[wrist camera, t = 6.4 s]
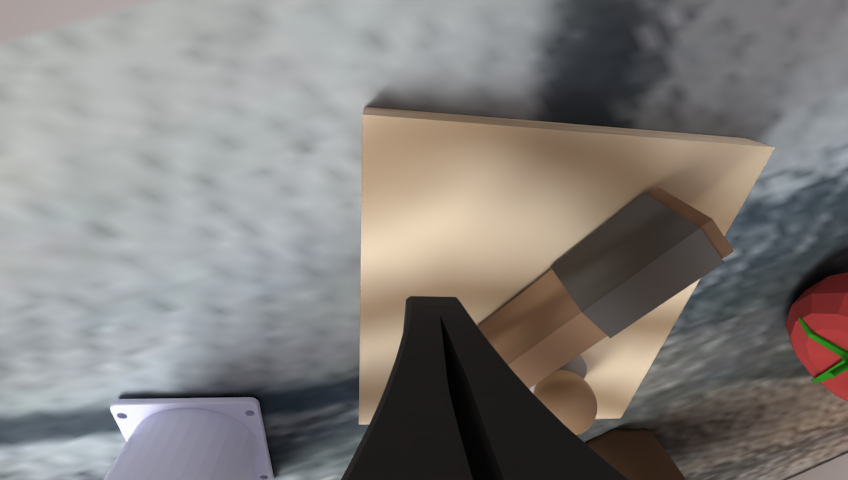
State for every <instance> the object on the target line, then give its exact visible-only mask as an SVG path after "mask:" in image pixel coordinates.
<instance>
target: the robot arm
mask: <svg viewBox="0 0 848 480" xmlns="http://www.w3.org/2000/svg"><path fill="white" fill-rule="evenodd" d="M110 410H111V412H112V414H113V416H114V418H115V420H116V422H117V424H118V426H119V428H120V430H121V432H122V434H123V436H124V438H125V440H126V442H127V443H126V444H125V446H124V447H123V449H122V451H121V452H120V454H119V455H118V457H117V459H116V460H115V462H114V463H113V465H112V467H111V468H110V470H109V471H108V473H107V475H106V476H105V478H104V479H103V480H274V476H273V471H272V466H271V461H270V456H269V450H268V445H267V440H266V435H265V430H264V425H263V419H262V414H261V409H260V404H259V401H258V400H257V399H256V398H253V397H226V398H158V399H118V400H115V401H114V402H113V404H112V405H111V406H110ZM341 480H628V479H627V478H626V477H625V476H623V475H622V474H621V473H620V472H618V471H617V470H616V469H615V468H614V467H613V466H611V465H610V464H609V463H608V462H607V461H605V460H604V459H603V458H602V457H601V456H600V455H598V454H597V453H596V452H595V451H594V450H592V449H591V448H590V447H589V446H588V445H587V444H585V443H584V442H583V441H582V440H581V439H580V438H578V437H577V436H576V435H575V434H574V433H573V432H572V431H571V430H570V429H569V428H567V427H566V426H565V425H564V424H563V423H562V422H561V421H560V420H559V419H558V418H557V417H556V416H555V415H554V414H553V413H552V412H551V411H550V410H549V409H548V408H547V407H546V406H545V405H544V404H543V403H542V402H541V401H540V400H539V399H538V398H537V397H536V396H535V395H534V394H533V393H532V392H531V391H530V389H529V388H528V387H527V386H526V385H525V384H524V383H523V382H522V381H521V379H520V378H519V377H518V376H517V375H516V374H515V373H514V372H513V370H512V369H511V368H510V367H509V366H508V364H507V363H506V362H505V361H504V360H503V358H502V357H501V356H500V355H499V353H498V352H497V351H496V350H495V348H494V347H493V346H492V345H491V343H490V342H489V341H488V340H487V338H486V337H485V336H484V334H483V333H482V332H481V330H480V329H479V328H478V326H477V325H476V323H475V322H474V321H473V319H472V318H471V316H470V315H469V314H468V312H467V311H466V309H465V308H464V306H463V305H462V303H461V302H460V301H459V299H458V298H457V297H435V296H410V297H409V298H407V299H406V304H405V315H404V326H403V335H402V339H401V342H400V346H399V349H398V353H397V356H396V359H395V362H394V365H393V368H392V371H391V373H390V376H389V379H388V382H387V384H386V387H385V390H384V392H383V395H382V397H381V399H380V402H379V404H378V406H377V409H376V411H375V413H374V415H373V418H372V420H371V422H370V424H369V426H368V428H367V430H366V432H365V434H364V436H363V438H362V440H361V442H360V444H359V446H358V448H357V450H356V452H355V454H354V456H353V458H352V460H351V462H350V464H349V466H348V468H347V470H346V471H345V473H344V475H343V477H342V479H341Z"/></svg>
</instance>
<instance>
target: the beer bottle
mask: <svg viewBox="0 0 848 480" xmlns="http://www.w3.org/2000/svg"><path fill="white" fill-rule="evenodd" d="M585 444H587V445H588V446H589V447H590V448H591V449H592V450H594V451H595V452H596V453H597V454H598V455H600V456H601V457H602V458H603V459H604V460H605V461H607V462H608V463H609V464H610V465H611V466H613V467H614V468H615V469H616V470H617V471H618V472H620V473H621V474H622V475H623V476H625V477H626V478H627V479H628V480H686V479H685V477H684V476H683V474H682V473H681V471H680V470H679V469H678V467H677V466H676V465H675V463H674V462H673V461H672V459H671V458H670V456H669V455H668V454H667V452H666V451H665V450H664V448H663V447H662V446H661V444H660V443H659V441H658V440H657V439H656V437H655V436H654V435H653V433H651V432H650V431H649V430H647V429H614V430H612V431H609V432H607V433H605V434H603V435H601V436H599V437H597V438H595V439H592V440H590V441H588V442H586V443H585Z"/></svg>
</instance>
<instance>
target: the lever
mask: <svg viewBox="0 0 848 480" xmlns="http://www.w3.org/2000/svg"><path fill="white" fill-rule="evenodd" d="M731 252H733V249H732V248H731V246H730V245H729V243H728V241H727V240H726V238H725V237H724V235H723V234H722V232H721V231H720V229H719V228H718V226H717V225H716V223H715V222H714V220H713V219H712V218H710V217H709V216H707V215H705V214H703V213H702V212H700V211H698V210H697V209H695V208H693V207H691V206H690V205H688V204H686V203H685V202H683V201H681V200H679V199H678V198H676V197H674V196H673V195H671V194H669V193H667V192H666V191H664V190H662V189H661V188H659V187H657V188H655V189H654V190H653V191H651V192H650V193H649V194H646V193H643V194H642V195H641V196H639V197H638V198H637V199H636V200H634V201H633V202H632V203H631V204H629V205H628V206H627V207H625V208H624V209H623V210H622V211H620V212H619V213H618V214H617V215H615V216H614V217H613V218H611V219H610V220H609V221H608V222H606V223H605V224H604V225H603V226H601V227H600V228H599V229H597V230H596V231H595V232H594V233H592V234H591V235H590V236H589V237H587V238H586V239H585V240H583V241H582V242H581V243H580V244H578V245H577V246H576V247H575V248H573V249H572V250H571V251H569V252H568V253H567V254H566V255H564V256H563V257H562V258H561V259H559V260H558V261H557V262H555V263H554V264H553V265H552V266H550V267H551V268H552V270H550V271H549V272H548V273H546V274H545V275H544V276H543V277H541V278H540V279H539V280H537V281H536V282H535V283H534V284H532V285H531V286H530V287H529V288H527V289H526V290H525V291H523V292H522V293H521V294H520V295H518V296H517V297H516V298H514V299H513V300H512V301H511V302H509V303H508V304H507V305H505V306H504V307H503V308H502V309H500V310H499V311H498V312H496V313H495V314H494V315H493V316H491V317H490V318H489V319H488V320H486V321H485V322H484V323H482V324H481V325H480V326H479V327H478V328H479V329H480V330H481V332H482V333H483V334H484V336H485V337H486V338H487V340H488V341H489V342H490V343H491V345H492V346H493V347H494V348H495V350H496V351H497V352H498V353H499V355H500V356H501V357H502V358H503V360H504V361H505V362H506V363H507V364H508V366H509V367H510V368H511V369H512V370H513V372H514V373H515V374H516V375H517V376H518V377H519V378H520V379H521V381H522V382H523V383H524V384H525V385H526V386H527V387H528V388H531V387H532V386H534V385H535V384H537V383H538V382H540V381H541V380H543V379H544V378H546V377H547V376H549V375H550V374H552V373H553V372H555V371H556V370H558V369H559V368H561V367H562V366H564V365H565V364H567V363H568V362H570V361H571V360H573V359H574V358H575V357H577V356H578V355H580V354H581V353H583V352H584V351H586V350H587V349H589V348H590V347H592V346H593V345H595V344H596V343H598V342H599V341H601V340H602V339H604V338H605V337H607V336H608V337H609V338H612V337H613V336H615V335H616V334H618V333H619V332H621V331H622V330H624V329H625V328H627V327H628V326H630V325H631V324H633V323H634V322H636V321H637V320H639V319H640V318H642V317H643V316H645V315H646V314H648V313H649V312H651V311H652V310H654V309H655V308H657V307H658V306H660V305H661V304H663V303H664V302H666V301H667V300H669V299H670V298H672V297H673V296H675V295H676V294H678V293H679V292H681V291H682V290H684V289H685V288H687V287H688V286H690V285H691V284H693V283H694V282H696V281H697V280H699V279H700V278H702V277H703V276H705V275H706V274H708V273H709V272H711V271H712V270H714V269H715V268H717V267H718V266H720V265H721V264H723V263H724V261H723V260H722V259H723V258H724V257H726V256H727V255H729V254H730V253H731Z"/></svg>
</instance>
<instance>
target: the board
mask: <svg viewBox="0 0 848 480" xmlns="http://www.w3.org/2000/svg"><path fill="white" fill-rule="evenodd" d="M774 149H775V147H772V146H769V145H766V144H763V143H759V142H756V141H753V140H750V139H746V138H738V137H726V136H714V135H702V134H689V133H677V132H665V131H653V130H641V129H629V128H617V127H604V126H592V125H580V124H568V123H556V122H544V121H532V120H520V119H507V118H495V117H483V116H471V115H459V114H447V113H435V112H422V111H410V110H398V109H386V108H374V107H364V111H363V123H362V205H361V286H360V367H359V425H364V424H370V422H371V420H372V418H373V415H374V413H375V411H376V409H377V406H378V404H379V402H380V399H381V397H382V395H383V392H384V390H385V387H386V384H387V382H388V379H389V376H390V373H391V371H392V368H393V365H394V362H395V359H396V356H397V353H398V349H399V346H400V342H401V339H402V335H403V326H404V315H405V304H406V299H407V298H409V297H410V296H435V297H457V298H458V299H459V301H460V302H461V303H462V305H463V306H464V308H465V309H466V311H467V312H468V314H469V315H470V316H471V318H472V319H473V321H474V322H475V323H476V325H477V326H478V327H479V326H480V325H481V324H482V323H484V322H485V321H486V320H488V319H489V318H490V317H491V316H493V315H494V314H495V313H496V312H498V311H499V310H500V309H502V308H503V307H504V306H505V305H507V304H508V303H509V302H511V301H512V300H513V299H514V298H516V297H517V296H518V295H520V294H521V293H522V292H523V291H525V290H526V289H527V288H529V287H530V286H531V285H532V284H534V283H535V282H536V281H537V280H539V279H540V278H541V277H543V276H544V275H545V274H546V273H548V272H549V271H550V270H552V268H551V267H550V266H552V265H553V264H554V263H555V262H557V261H558V260H559V259H561V258H562V257H563V256H564V255H566V254H567V253H568V252H569V251H571V250H572V249H573V248H575V247H576V246H577V245H578V244H580V243H581V242H582V241H583V240H585V239H586V238H587V237H589V236H590V235H591V234H592V233H594V232H595V231H596V230H597V229H599V228H600V227H601V226H603V225H604V224H605V223H606V222H608V221H609V220H610V219H611V218H613V217H614V216H615V215H617V214H618V213H619V212H620V211H622V210H623V209H624V208H625V207H627V206H628V205H629V204H631V203H632V202H633V201H634V200H636V199H637V198H638V197H639V196H641V195H642V194H643V193H646V194H649V193H650V192H651V191H653V190H654V189H655V188H657V187H659V188H661V189H662V190H664V191H666V192H667V193H669V194H671V195H673V196H674V197H676V198H678V199H679V200H681V201H683V202H685V203H686V204H688V205H690V206H691V207H693V208H695V209H697V210H698V211H700V212H702V213H703V214H705V215H707V216H709V217H710V218H712V219H713V220H714V222H715V223H716V225H717V226H718V228H719V229H720V231H721V232H722V234H723V235H724V236H725V235H726V233H727V231H728V229H729V228H730V226H731V224H732V222H733V221H734V219H735V217H736V215H737V214H738V212H739V210H740V208H741V207H742V205H743V203H744V201H745V200H746V198H747V196H748V194H749V193H750V191H751V189H752V187H753V186H754V184H755V182H756V180H757V179H758V177H759V175H760V173H761V172H762V170H763V168H764V166H765V165H766V163H767V161H768V159H769V158H770V156H771V154H772V152H773V151H774ZM699 280H700V279H699ZM699 280H697V281H696V282H694V283H693V284H691V285H690V286H688V287H687V288H685V289H684V290H682V291H681V292H679V293H678V294H676V295H675V296H673V297H672V298H670V299H669V300H667V301H666V302H664V303H663V304H661V305H660V306H658V307H657V308H655V309H654V310H652V311H651V312H649V313H648V314H646V315H645V316H643V317H642V318H640V319H639V320H637V321H636V322H634V323H633V324H631V325H630V326H628V327H627V328H625V329H624V330H622V331H621V332H619V333H618V334H616V335H615V336H613V337H612V338H609V337H608V336H607V337H605V338H604V339H602V340H601V341H599V342H598V343H596V344H595V345H593V346H592V347H590V348H589V349H587V350H586V351H584V352H583V353H581V354H580V355H578V356H577V357H575V358H574V359H573V360H571V361H570V362H568V363H567V364H565V365H564V366H562V367H561V368H559V369H558V370H556V371H555V372H553V373H552V374H550V375H549V376H547V377H546V378H544V379H543V380H541V381H540V382H538V383H537V384H535V385H534V386H532V387H531V388H529V389H530V391H531V392H532V393H533V394H534V395H535V396H536V397H537V398H538V399H539V400H540V401H541V402H542V403H543V404H544V405H545V406H546V407H547V408H548V409H549V410H550V411H551V412H552V413H553V414H554V415H555V416H556V417H557V418H558V419H559V420H560V421H561V422H562V423H563V424H564V425H565V426H566V427H567V428H569V429H570V430H571V431H572V432H573V433H574V434H575V435H578V434H581V433H583V432H585V431H586V430H588V429H589V428H590V427H591V425H592V424H593V422H594V420H595V419H608V418H621V417H622V415H623V413H624V411H625V410H626V408H627V406H628V404H629V403H630V401H631V399H632V397H633V396H634V394H635V392H636V390H637V389H638V387H639V385H640V383H641V382H642V380H643V378H644V376H645V375H646V373H647V371H648V369H649V368H650V366H651V364H652V362H653V361H654V359H655V357H656V355H657V354H658V352H659V350H660V348H661V347H662V345H663V343H664V341H665V340H666V338H667V336H668V334H669V333H670V331H671V329H672V327H673V326H674V324H675V322H676V320H677V319H678V317H679V315H680V313H681V312H682V310H683V308H684V306H685V305H686V303H687V301H688V299H689V298H690V296H691V294H692V292H693V291H694V289H695V287H696V285H697V284H698V282H699Z"/></svg>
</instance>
